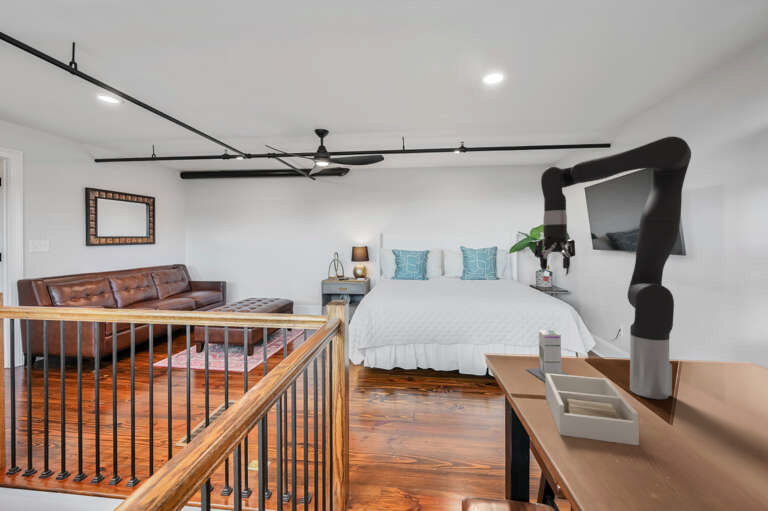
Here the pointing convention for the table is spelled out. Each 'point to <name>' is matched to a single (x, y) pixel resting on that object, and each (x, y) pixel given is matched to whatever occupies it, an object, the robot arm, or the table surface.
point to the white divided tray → (584, 425)
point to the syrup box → (549, 352)
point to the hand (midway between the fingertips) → (555, 268)
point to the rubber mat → (538, 373)
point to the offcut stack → (591, 409)
